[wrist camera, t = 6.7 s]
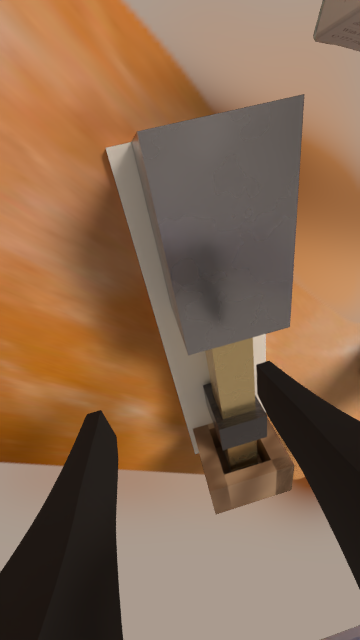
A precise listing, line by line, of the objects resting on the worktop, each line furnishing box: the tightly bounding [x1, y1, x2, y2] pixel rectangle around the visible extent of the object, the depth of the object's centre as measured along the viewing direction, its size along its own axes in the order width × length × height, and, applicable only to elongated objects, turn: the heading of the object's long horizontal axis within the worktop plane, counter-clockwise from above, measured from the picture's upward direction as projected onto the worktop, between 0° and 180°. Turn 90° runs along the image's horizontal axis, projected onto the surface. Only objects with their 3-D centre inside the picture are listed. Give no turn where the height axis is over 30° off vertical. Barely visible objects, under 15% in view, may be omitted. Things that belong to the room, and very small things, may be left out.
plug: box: [203, 338, 267, 473], centre depth 22 cm, size 4×19×5 cm, turn 11°
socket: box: [193, 418, 294, 514], centre depth 27 cm, size 8×5×6 cm, turn 101°
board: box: [106, 142, 266, 454], centre depth 23 cm, size 9×31×1 cm, turn 11°
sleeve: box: [131, 94, 304, 356], centre depth 14 cm, size 6×10×6 cm, turn 11°
